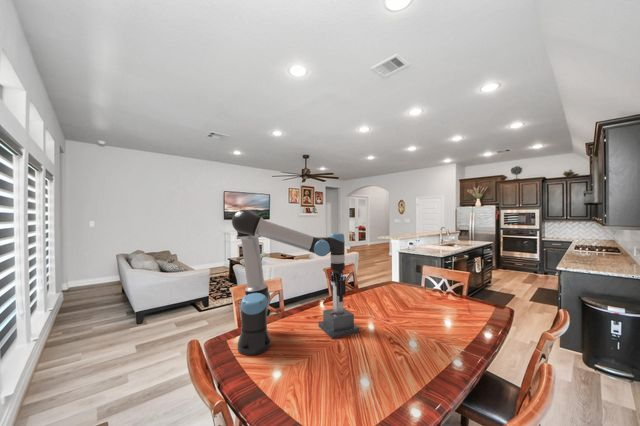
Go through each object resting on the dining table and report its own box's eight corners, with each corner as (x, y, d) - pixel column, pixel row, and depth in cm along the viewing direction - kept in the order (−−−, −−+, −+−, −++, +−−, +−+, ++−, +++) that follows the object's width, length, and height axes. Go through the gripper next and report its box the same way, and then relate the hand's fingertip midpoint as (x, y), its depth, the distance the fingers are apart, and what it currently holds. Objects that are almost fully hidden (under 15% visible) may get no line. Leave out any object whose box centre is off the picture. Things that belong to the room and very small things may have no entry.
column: (335, 328, 138) (334, 283, 138) (331, 325, 142) (330, 281, 142) (345, 326, 141) (344, 282, 141) (341, 323, 144) (340, 280, 145)
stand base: (331, 338, 131) (331, 318, 131) (318, 326, 145) (318, 308, 145) (359, 332, 137) (359, 313, 137) (344, 321, 152) (343, 304, 152)
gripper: (352, 264, 135) (352, 310, 135) (336, 259, 151) (336, 300, 151) (339, 265, 132) (339, 312, 132) (324, 260, 148) (324, 302, 147)
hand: (338, 306), depth 141 cm, fingers closed on column, 4 cm apart
